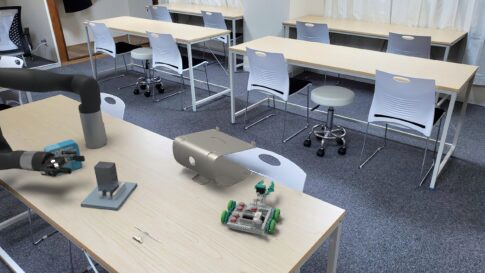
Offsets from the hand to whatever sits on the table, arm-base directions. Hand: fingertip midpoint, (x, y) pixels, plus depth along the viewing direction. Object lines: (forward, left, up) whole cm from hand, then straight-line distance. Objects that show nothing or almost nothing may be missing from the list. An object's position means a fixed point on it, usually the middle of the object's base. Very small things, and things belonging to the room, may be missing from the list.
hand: (77, 164), depth 135 cm
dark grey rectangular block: (0, +11, -11) cm, 15 cm away
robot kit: (+1, +65, -13) cm, 66 cm away
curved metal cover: (-23, +45, -12) cm, 52 cm away
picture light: (+20, +32, -13) cm, 40 cm away
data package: (-14, -16, -12) cm, 24 cm away
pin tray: (0, +11, -12) cm, 16 cm away
